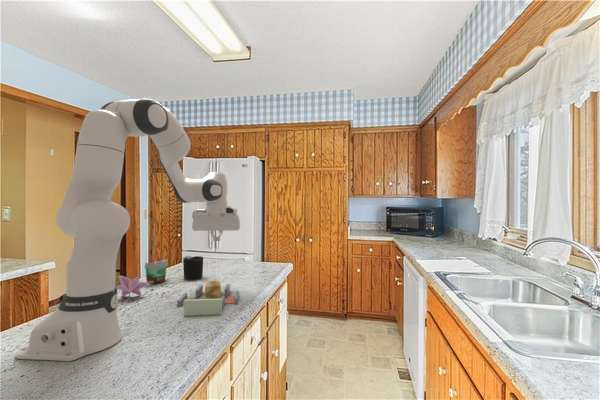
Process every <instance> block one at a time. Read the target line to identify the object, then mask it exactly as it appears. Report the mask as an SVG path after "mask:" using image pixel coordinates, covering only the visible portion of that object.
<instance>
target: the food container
mask: <svg viewBox="0 0 600 400" xmlns="http://www.w3.org/2000/svg"><path fill="white" fill-rule="evenodd" d="M168 262H169V261H168V259H167V258H164V257H163V258H161V260H158V261H153V262H149V263H147V262H145V264H144V269H145V276H146V283H149V284H153V285H158V284H159V283H160V284H163V283H165V282H166V276H167V274H166V273H167V265H169V263H168ZM160 284H159V285H160Z"/></svg>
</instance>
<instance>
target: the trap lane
mask: <svg viewBox="0 0 600 400" xmlns="http://www.w3.org/2000/svg"><path fill="white" fill-rule="evenodd" d="M230 285H231V284H230V283H226V285H225V287H224V295H221V298H212V299H205V298H200V297H201V295H202V293H203V292H204V291H203V288H204V287H203V284H199V285H198V287H197V288H196V289H195V296H190V297H188V292H183V293H182V295H180V297H178V299H177V304H176V305H177V307H182V306H183V316H210V315H222V313H223V311H224V308H225V305H229V304H230V305H233V304H234V305H238V302H239V299H240V291H238V290H237V291H236V292H235V294H234V295H229V294H230V292H231V291H230V289H231V287H230Z"/></svg>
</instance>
